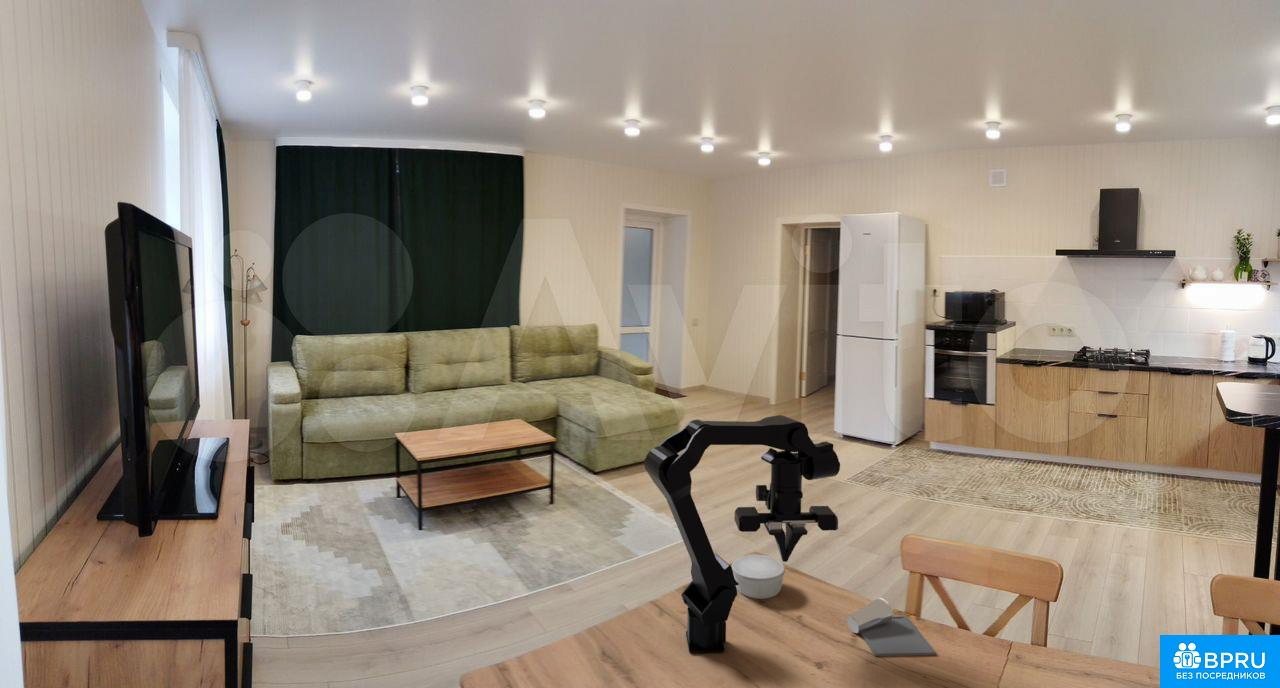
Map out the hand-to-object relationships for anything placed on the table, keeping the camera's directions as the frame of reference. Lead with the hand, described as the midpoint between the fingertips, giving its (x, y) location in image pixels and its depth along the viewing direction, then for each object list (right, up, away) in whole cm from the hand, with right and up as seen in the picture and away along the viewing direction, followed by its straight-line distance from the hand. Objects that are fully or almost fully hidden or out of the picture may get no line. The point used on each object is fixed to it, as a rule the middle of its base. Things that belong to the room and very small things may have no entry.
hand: (784, 560), depth 127 cm
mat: (+20, -13, -3) cm, 24 cm away
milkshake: (+12, -12, -2) cm, 17 cm away
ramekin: (-2, -11, +16) cm, 19 cm away
